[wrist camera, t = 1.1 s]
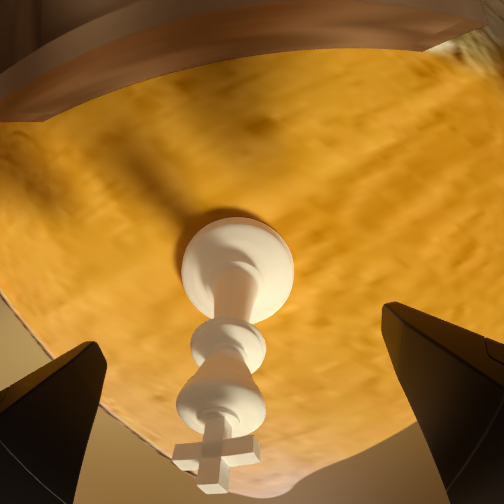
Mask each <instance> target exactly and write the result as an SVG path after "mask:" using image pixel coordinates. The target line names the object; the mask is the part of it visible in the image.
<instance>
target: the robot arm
mask: <svg viewBox="0 0 504 504" xmlns="http://www.w3.org/2000/svg"><path fill="white" fill-rule="evenodd" d="M381 331H382V335H383V338H384V341H385V344H386V347H387V349H388V352H389V355H390V358H391V361H392V364H393V367H394V370H395V373H396V375H397V377H398V380H399V382H400V384H401V386H402V388H403V390H404V392H405V395H406V397H407V399H408V401H409V403H410V405H411V408H412V410H413V412H414V414H415V416H416V419H417V421H418V423H419V425H420V428H421V430H422V432H423V435H424V437H425V439H426V442H427V444H428V446H429V449H430V451H431V454H432V456H433V459H434V461H435V464H436V466H437V468H438V471H439V474H440V476H441V479H442V481H443V484H444V487H445V490H446V491H447V492H446V493H447V496H448V498H449V501H450V504H504V344H502V343H499V342H497V341H494V340H492V339H489V338H485V337H484V336H482V335H479V334H477V333H474V332H472V331H469V330H467V329H464V328H462V327H459V326H457V325H454V324H452V323H449V322H447V321H444V320H442V319H439V318H437V317H434V316H431V315H429V314H426V313H424V312H421V311H419V310H416V309H414V308H411V307H409V306H406V305H404V304H401V303H399V302H390V303H386V304H384V305H383V307H382V322H381ZM106 370H107V362H106V359H105V357H104V355H103V353H102V351H101V349H100V347H99V345H98V344H97V343H96V342H95V341H86V342H84V343H82V344H80V345H78V346H77V347H75V348H73V349H72V350H70V351H68V352H66V353H65V354H63V355H61V356H60V357H58V358H56V359H55V360H53V361H51V362H49V363H48V364H46V365H44V366H43V367H41V368H39V369H38V370H36V371H35V372H32V373H31V374H29V375H27V376H26V377H24V378H22V379H21V380H19V381H17V382H16V383H14V384H12V385H10V387H7V388H5V389H4V390H2V391H0V504H73V501H74V496H75V492H76V487H77V483H78V479H79V474H80V470H81V466H82V462H83V458H84V454H85V451H86V447H87V443H88V440H89V436H90V433H91V429H92V425H93V423H94V419H95V416H96V413H97V409H98V406H99V402H100V397H101V393H102V388H103V383H104V379H105V374H106Z"/></svg>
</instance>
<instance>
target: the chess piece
mask: <svg viewBox="0 0 504 504" xmlns="http://www.w3.org/2000/svg"><path fill="white" fill-rule="evenodd" d="M181 276H182V283H183V287H184V290H185V292H186V294H187V296H188V298H189V299H190V301H191V302H192V304H193V305H194V306H195V307H196V308H197V309H198V310H199V311H200V312H201V313H203V314H204V315H206V316H207V317H209V318H211V319H210V320H208V321H206V322H204V323H202V324H201V325H200V326H199V327H198V328H197V329H196V330H195V331H194V333H193V335H192V338H191V351H192V356H193V359H194V361H195V362H196V364H197V365H198V366H199V367H200V368H199V369H198V371H197V372H196V373H195V375H194V376H193V377H191V378H190V379H189V380H188V381H187V383H186V384H185V385H184V386H183V388H182V389H181V391H180V392H179V394H178V397H177V401H176V408H177V412H178V414H179V416H180V418H181V419H182V420H183V422H184V423H185V424H186V425H188V426H189V427H190V428H191V429H193V430H195V431H196V432H198V433H201V434H203V442H197V443H187V444H175V448H174V452H173V457H172V461H173V462H174V463H175V464H176V465H177V466H178V467H179V468H180V469H181V470H182V471H186V470H198V475H197V482H196V485H197V486H198V487H199V488H200V489H201V490H203V491H204V492H205V493H206V494H218V493H228V487H229V472H230V467H234V466H242V465H249V464H256V463H261V446H260V444H259V442H258V441H257V439H256V438H255V436H254V435H248V436H244V435H247V434H249V433H251V432H253V431H254V430H256V429H257V428H258V427H259V426H260V425H261V424H262V423H263V421H264V419H265V416H266V405H265V401H264V399H263V396H262V394H261V392H260V390H259V388H258V387H257V385H256V384H255V382H254V380H253V378H252V375H251V374H252V373H253V372H255V371H256V370H257V369H258V368H259V366H260V365H261V363H262V361H263V359H264V357H265V353H266V343H265V340H264V338H263V336H262V334H261V333H260V331H259V330H258V329H257V328H256V327H255V326H253V325H252V324H253V323H257V322H260V321H262V320H264V319H266V318H268V317H270V316H271V315H273V314H274V313H275V312H276V311H278V310H279V309H280V308H281V306H282V305H283V304H284V303H285V301H286V300H287V298H288V296H289V294H290V291H291V288H292V284H293V276H294V264H293V258H292V255H291V252H290V250H289V248H288V246H287V244H286V242H285V241H284V240H283V238H282V237H281V236H280V235H279V234H278V233H277V232H276V231H275V230H274V229H272V228H271V227H269V226H268V225H266V224H264V223H262V222H260V221H257V220H254V219H250V218H244V217H229V218H224V219H220V220H217V221H214V222H212V223H210V224H208V225H206V226H205V227H203V228H202V229H201V230H200V231H198V232H197V233H196V234H195V235H194V237H193V238H192V239H191V241H190V242H189V244H188V246H187V248H186V250H185V253H184V257H183V262H182V269H181ZM241 436H242V437H241Z"/></svg>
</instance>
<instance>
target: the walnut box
mask: <svg viewBox="0 0 504 504" xmlns="http://www.w3.org/2000/svg"><path fill="white" fill-rule="evenodd" d="M486 25H488V21H487V19H486V16H485V13H484V10H483V7H482V5H481V2H480V0H0V122H43V121H45V120H47V119H49V118H51V117H53V116H55V115H57V114H59V113H62V112H64V111H66V110H68V109H70V108H73V107H75V106H77V105H80V104H82V103H84V102H87V101H89V100H91V99H94V98H96V97H99V96H102V95H104V94H107V93H109V92H112V91H115V90H118V89H120V88H123V87H126V86H129V85H132V84H135V83H138V82H141V81H144V80H148V79H151V78H154V77H158V76H161V75H165V74H168V73H172V72H176V71H179V70H183V69H187V68H191V67H196V66H200V65H204V64H209V63H214V62H219V61H224V60H229V59H235V58H241V57H247V56H254V55H261V54H268V53H276V52H286V51H297V50H310V49H329V48H379V49H398V50H410V51H421V52H423V51H425V50H427V49H429V48H432V47H434V46H436V45H439V44H441V43H443V42H446V41H448V40H450V39H453V38H455V37H458V36H460V35H462V34H465V33H468V32H470V31H473V30H475V29H478V28H481V27H483V26H486Z"/></svg>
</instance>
